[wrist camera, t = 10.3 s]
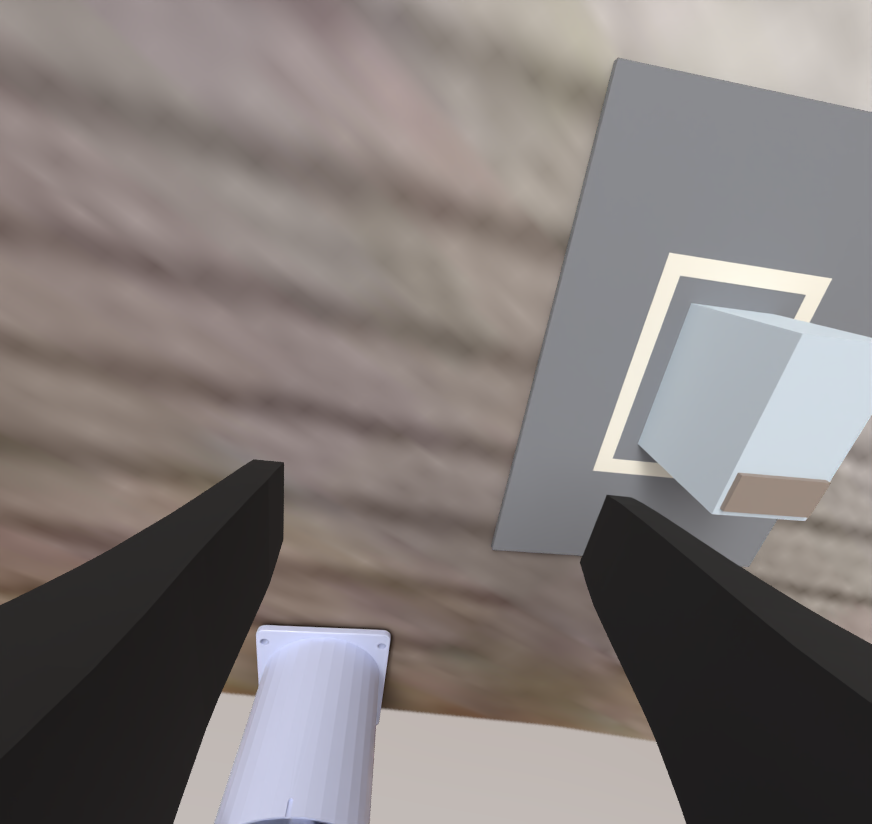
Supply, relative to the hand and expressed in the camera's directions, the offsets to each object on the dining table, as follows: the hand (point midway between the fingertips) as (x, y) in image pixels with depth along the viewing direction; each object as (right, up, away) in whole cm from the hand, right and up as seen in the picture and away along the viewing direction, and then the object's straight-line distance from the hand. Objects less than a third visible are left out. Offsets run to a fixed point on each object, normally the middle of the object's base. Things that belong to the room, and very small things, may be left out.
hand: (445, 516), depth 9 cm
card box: (+12, +4, +10) cm, 16 cm away
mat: (+12, +4, +10) cm, 17 cm away
